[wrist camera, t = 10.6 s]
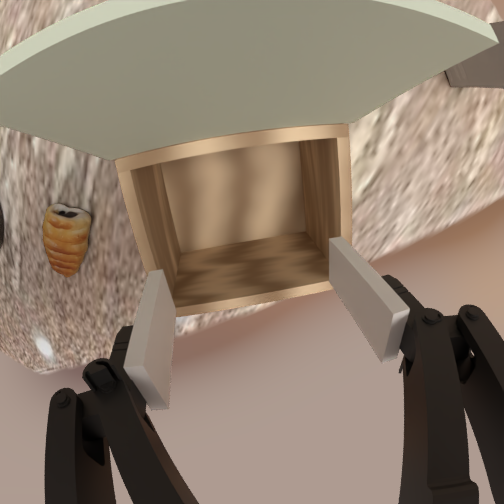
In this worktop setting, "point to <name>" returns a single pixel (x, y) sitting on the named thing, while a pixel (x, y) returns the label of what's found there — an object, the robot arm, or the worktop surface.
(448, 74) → the skincare box
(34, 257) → the worktop surface
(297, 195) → the box
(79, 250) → the pastry
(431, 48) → the lid
